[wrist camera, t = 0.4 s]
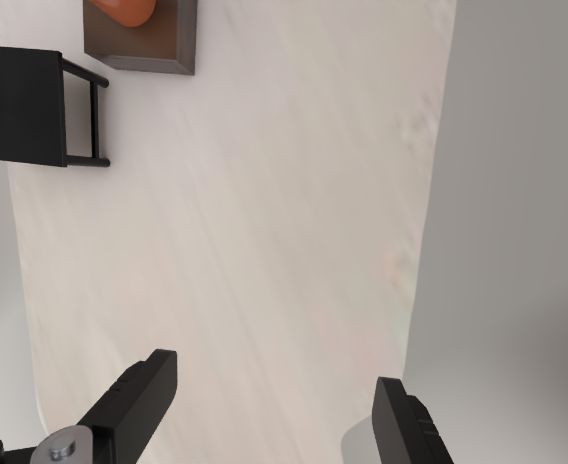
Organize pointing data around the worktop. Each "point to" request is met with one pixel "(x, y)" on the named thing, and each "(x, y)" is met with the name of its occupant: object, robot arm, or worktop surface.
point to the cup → (126, 10)
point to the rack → (41, 108)
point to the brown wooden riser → (145, 39)
